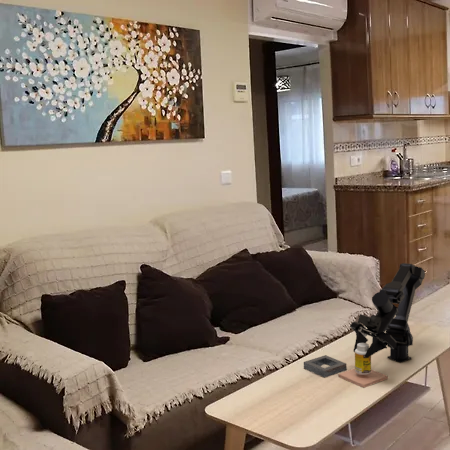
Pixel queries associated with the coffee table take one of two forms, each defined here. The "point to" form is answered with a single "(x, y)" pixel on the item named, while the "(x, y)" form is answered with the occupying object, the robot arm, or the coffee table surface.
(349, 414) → the coffee table surface
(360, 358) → the supplement bottle
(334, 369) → the frame
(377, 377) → the tile
